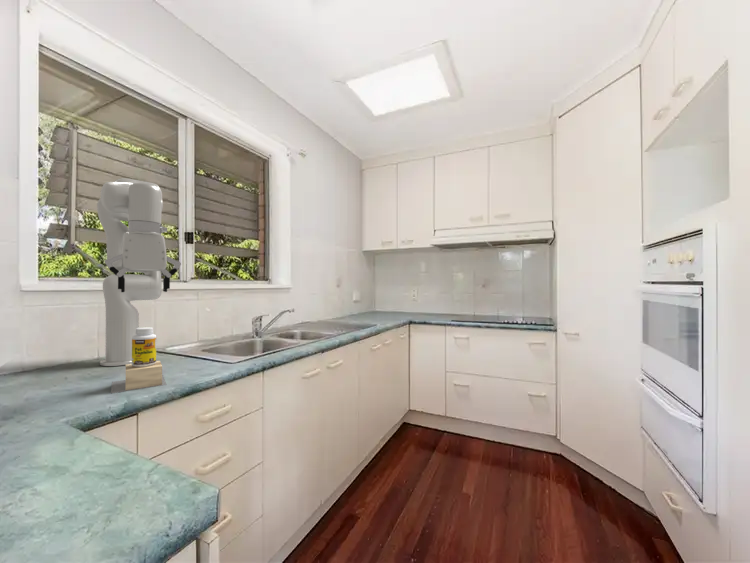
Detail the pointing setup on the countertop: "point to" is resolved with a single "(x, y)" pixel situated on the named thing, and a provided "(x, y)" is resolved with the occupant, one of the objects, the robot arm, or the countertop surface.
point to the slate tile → (121, 387)
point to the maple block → (143, 376)
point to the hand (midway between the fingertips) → (144, 291)
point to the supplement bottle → (144, 347)
